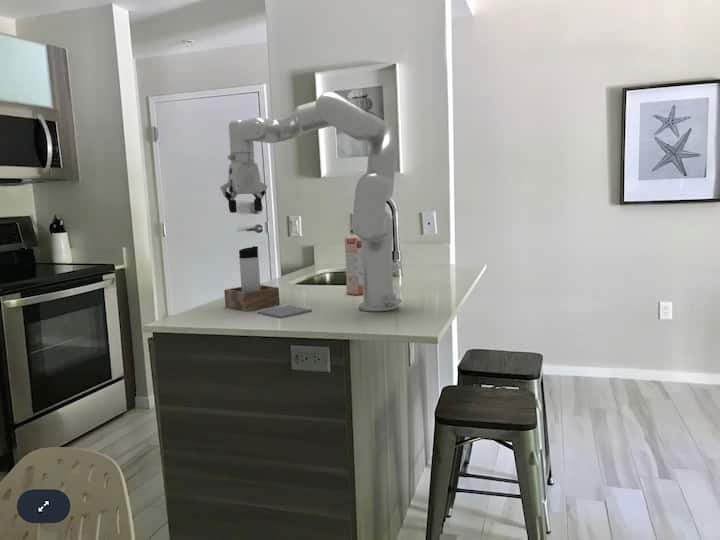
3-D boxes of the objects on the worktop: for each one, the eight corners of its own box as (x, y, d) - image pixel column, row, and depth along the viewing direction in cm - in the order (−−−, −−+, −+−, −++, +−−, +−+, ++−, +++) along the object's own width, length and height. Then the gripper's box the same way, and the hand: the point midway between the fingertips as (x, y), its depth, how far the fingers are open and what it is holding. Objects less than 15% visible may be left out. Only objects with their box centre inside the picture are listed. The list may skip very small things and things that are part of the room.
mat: (311, 311, 182) (311, 309, 182) (280, 318, 174) (280, 316, 174) (288, 307, 191) (288, 305, 191) (258, 313, 183) (258, 311, 183)
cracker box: (359, 295, 206) (357, 237, 203) (346, 294, 210) (343, 237, 207) (380, 289, 218) (378, 234, 215) (367, 288, 221) (364, 234, 218)
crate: (279, 305, 195) (278, 287, 194) (247, 311, 186) (245, 293, 186) (257, 301, 205) (256, 284, 204) (225, 307, 196) (224, 289, 195)
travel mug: (266, 305, 196) (262, 246, 193) (250, 308, 191) (246, 248, 188) (254, 303, 200) (251, 246, 197) (239, 306, 195) (234, 247, 192)
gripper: (225, 158, 180) (229, 213, 183) (271, 158, 192) (274, 210, 194) (213, 159, 186) (216, 213, 188) (258, 160, 197) (261, 210, 200)
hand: (245, 211), depth 191 cm, fingers open, 9 cm apart
